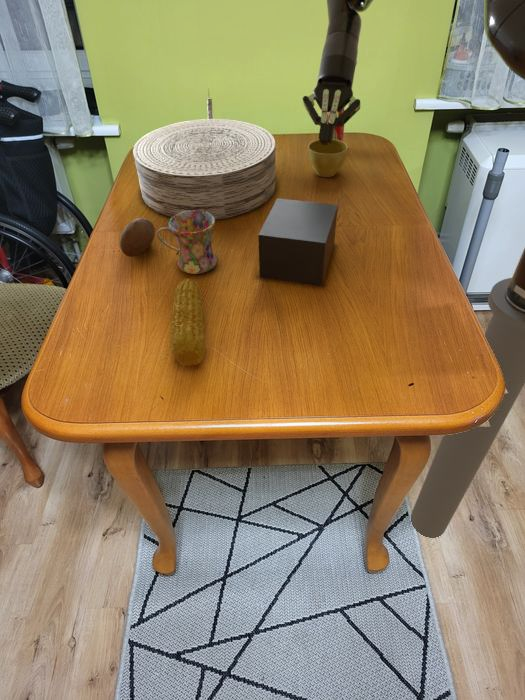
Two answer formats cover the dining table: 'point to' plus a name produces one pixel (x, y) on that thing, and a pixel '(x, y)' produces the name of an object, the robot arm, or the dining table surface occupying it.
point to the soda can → (338, 129)
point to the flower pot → (327, 157)
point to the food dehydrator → (206, 166)
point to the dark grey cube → (297, 241)
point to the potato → (137, 237)
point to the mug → (193, 240)
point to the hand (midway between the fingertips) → (324, 143)
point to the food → (187, 324)
